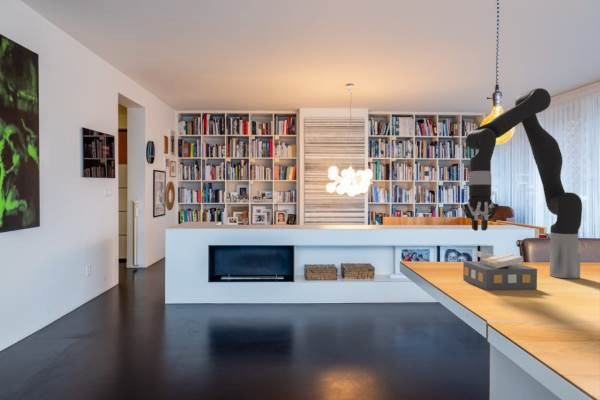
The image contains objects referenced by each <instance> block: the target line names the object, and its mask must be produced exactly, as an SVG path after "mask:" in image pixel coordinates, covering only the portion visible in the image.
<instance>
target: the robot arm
mask: <svg viewBox="0 0 600 400" xmlns="http://www.w3.org/2000/svg"><path fill="white" fill-rule="evenodd" d="M551 99H552V97H551V95H550V93H549V91H548V90H546V89H545V88H541V87H540V88H534V89H531V90H529V91H527V92H524V93H522V94H520V95H518V96H516V98H515V101H514V104H515V105H514V107H512V108H510V109H508V110H506V111H504V112H502V113H500V114H498V115H496V116H495V117H493V118H492V119H491V120H490V121H488V122H487V123H485V124H483V125H480V126H478V127H476V128H475V129H473V130H470V132H469V133H468V134H467V135H466V137H465V145H466V146H467V147H468V148H469V149H471V150H477V153H476V154H474V155H473V156H471V157H470V160H469V177H468V178H469V179H468V197H469V198H468V200H467V202H465V203H461V205H460V206H461V209H462V210H463V212H464V215H465V217H466V218H467V219H470V220H471V229H472V230H473V231H478V230H479V221H478V219H479V217H478V216H479V214H480V215H481V220H480V221H481V222H480V223H481V225H480V226H481V227H480V228H481V231H487V230H488V224H489V223H488V221H489V220H492V219H493V218H494V216H495V213H496V212H497V210H498V208H499V203H494V202H493V200H492V198H491V197H492V173H491V172H492V171H491V169H492V168H491V167H492V166H491V165H492V163H491V161H492V157H493V154H494V151H495V147H496V143H497V139H499V138H501V137H502V136H503V135H505V134H507V133H508V132H509V131H511V130H512V129H514V128H515V127H516V126H518V125H519V124H520V123H521V125H522V126H523V129H524V131H525V134H526V136H527V140H528V142H529V145H530V149H531V152H532V153H531V154H532V155H533V156H532V157H533V159H534V162H535V164H536V168H537V170H538V175H539V178H540V181H541V184H542V189H543V195H544V200H545V204H546V207H547V209H548V211H549V212H550V213H551V214H553V215H555V216H556V221H555V223H554V224H552V225H550V239H549V241H550V243H549V245H550V247H549V276H550V277H553V278H554V277H555V278H561V279H571V280H572V279H579V278H581V253H580V252H579V230H580V228H581V226H582V216H583V203H582V202H583V201H582V198H581V197H580V196H579V195H578V194H577V193H574V192H566V191H565V188H564V186H563V183H562V178H561V177H562V176H561V174H562V167H563V156H562V152H561V148H560V146H559V143H558V141H557V139H556V138H554V136H552V134H551V133H549V132H548V131H547V130H546V129H545V128H544V127H543V126H542V125H541V124H540V122H539V119H538V117H537V114H539V113H542V112H544V111H545V110H547V109H548V108H549V107H550V105H551V103H552V102H551V101H552V100H551ZM470 207H471V210H470Z"/></svg>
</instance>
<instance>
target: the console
mask: <svg viewBox="0 0 600 400" xmlns="http://www.w3.org/2000/svg"><path fill="white" fill-rule="evenodd" d="M462 268H463V270H462V271H463V275H462V276H463V277H462V278H463V280H462V281H465V282H466V283H469V284H472V285H474V286H476V287H478V288H481V289H482V290H485V291H511V290H512V291H516V290H517V291H521V290H522V291H523V290H526V291H527V290H528V291H529V290H531V291H532V290H537V287H538V268H535V267H531V266H528V265H525V264H524V265H523V264H521V263H517V264H513V265H509V266H505V267H501V268H497V269H496V268H493V267H490V266H487V265H484V264H482V260H481V261H477V260H476V261H471V260H470V261H469V260H468V261H467V260H466V261H464V260H463V267H462Z"/></svg>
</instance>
